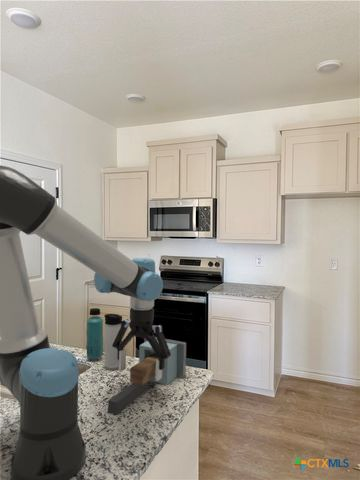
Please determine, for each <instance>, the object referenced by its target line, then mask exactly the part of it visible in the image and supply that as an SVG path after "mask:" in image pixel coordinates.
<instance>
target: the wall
mask: <svg viewBox="0 0 360 480" xmlns="http://www.w3.org/2000/svg"><path fill="white" fill-rule="evenodd" d="M149 337H150V335H149ZM155 338H156V340H157V337H156V336H155ZM165 340H166V342H167V343H172V344H177V377H176V378H179V379H185V377H186V371H187V370H186V369H187V342H185V341H179V340H173V339H167V338H165ZM146 341H147V340H146V339H145V338H144V339H143V343H145V342H146ZM157 341H158V340H157Z"/></svg>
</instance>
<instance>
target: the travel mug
mask: <svg viewBox="0 0 360 480" xmlns="http://www.w3.org/2000/svg"><path fill="white" fill-rule="evenodd" d="M103 316H104V362H103V363H104V370H106V371H117V370H118V371H119V360H118V359H117V354H118V350H117V348H115V347H113V346H112V345H113V342H114V340H115V338H116V336H117V334H118V332H119V330H120V328H121V322H122V321H123V315H119V314H118V313H106V314H104V315H103ZM122 341H123V340H122ZM122 341H121V342H122Z"/></svg>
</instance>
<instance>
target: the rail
mask: <svg viewBox="0 0 360 480" xmlns="http://www.w3.org/2000/svg"><path fill="white" fill-rule="evenodd" d="M149 384H150V381H148V382H146V383H145V384H144V385H139V384H135V383H130V384H129V385H128V386H126V387H125V388H123V389H122V390H120V391H118V392H117V394H115V395H114V396H112V397H110V398H109V399H108V401H107V413H108V414H111V415H115V416H117V415H118V414H120V413H121V412H122V411H123V410H124V409H126V408H127V407H128V406H129V405H130V404H132V403H133V402H135V401H136V400H137V399H138V398H139V397H140V396H141V395H143V394H144V393H145V392H147V391H148V390H149V388H150V387H149V386H150V385H149Z"/></svg>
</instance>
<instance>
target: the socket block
mask: <svg viewBox="0 0 360 480" xmlns="http://www.w3.org/2000/svg"><path fill="white" fill-rule="evenodd" d="M157 342H158V341H157ZM167 345H168V348H169V350H170V353H171V356H170V357H168V358H167V359H165V367H164V369H163V370H162V378H161V379H160V380H159V381H155V377H156V376H154V377H153V378H152V379H150V380H149V382H153V383H158V384H161V385H166V386H168V385H169V384H171V382H173V381H174V380H175V379H176V378H178V377H177V344H172V343H167ZM138 347H139V351H138V354H139V356H138V359H139V361H138V363H139V362H141V361H142V360H144V359H145V358H147V357H149V356H150V355H152V354H153V353H154V354H156V353H155V352H154V350H153V348H152V347H151V345H150V344H149V342H148V341H146V342H145V343H144V342H143V343H141V344H140V345H139V346H138Z"/></svg>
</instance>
